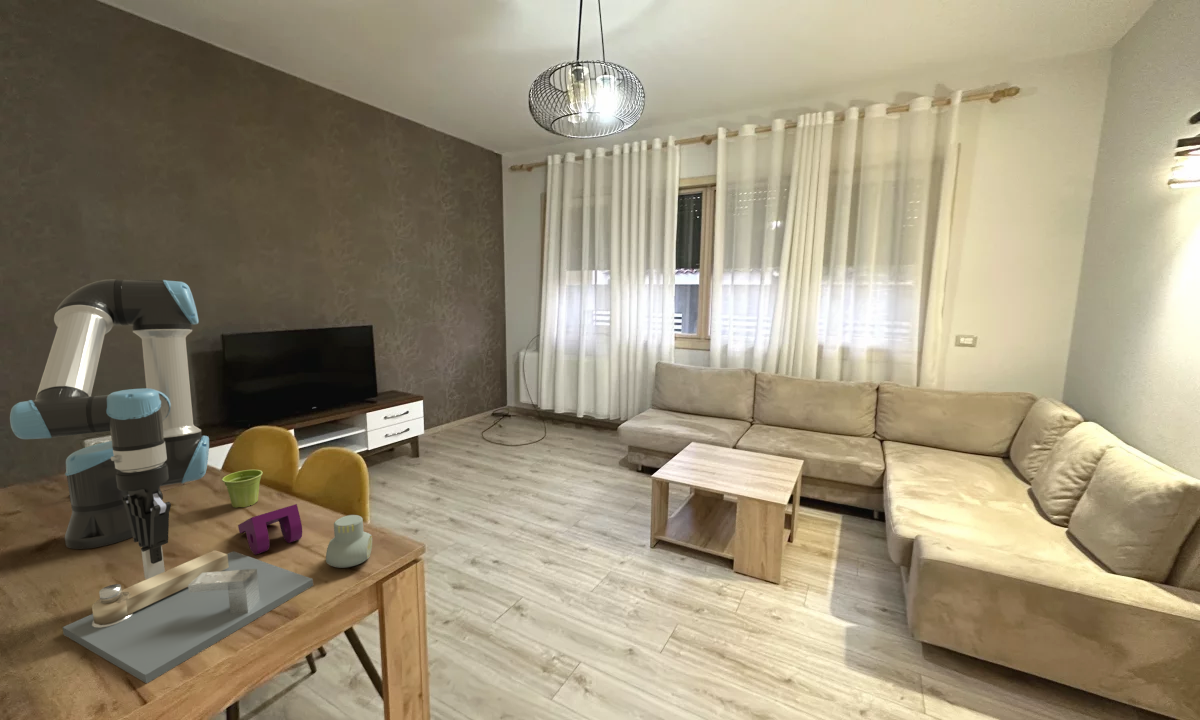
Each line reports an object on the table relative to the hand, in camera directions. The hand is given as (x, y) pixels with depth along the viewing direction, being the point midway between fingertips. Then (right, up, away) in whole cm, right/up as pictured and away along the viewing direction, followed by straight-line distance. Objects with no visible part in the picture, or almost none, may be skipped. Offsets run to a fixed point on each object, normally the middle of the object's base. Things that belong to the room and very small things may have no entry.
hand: (155, 575), depth 98 cm
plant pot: (-12, +2, +41) cm, 43 cm away
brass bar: (+5, -2, -3) cm, 6 cm away
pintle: (+2, -3, -10) cm, 11 cm away
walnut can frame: (-53, +4, +50) cm, 74 cm away
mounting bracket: (+8, -1, +22) cm, 23 cm away
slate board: (+14, -4, -5) cm, 15 cm away
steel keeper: (+21, -3, -7) cm, 22 cm away
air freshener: (+34, -2, +12) cm, 36 cm away
